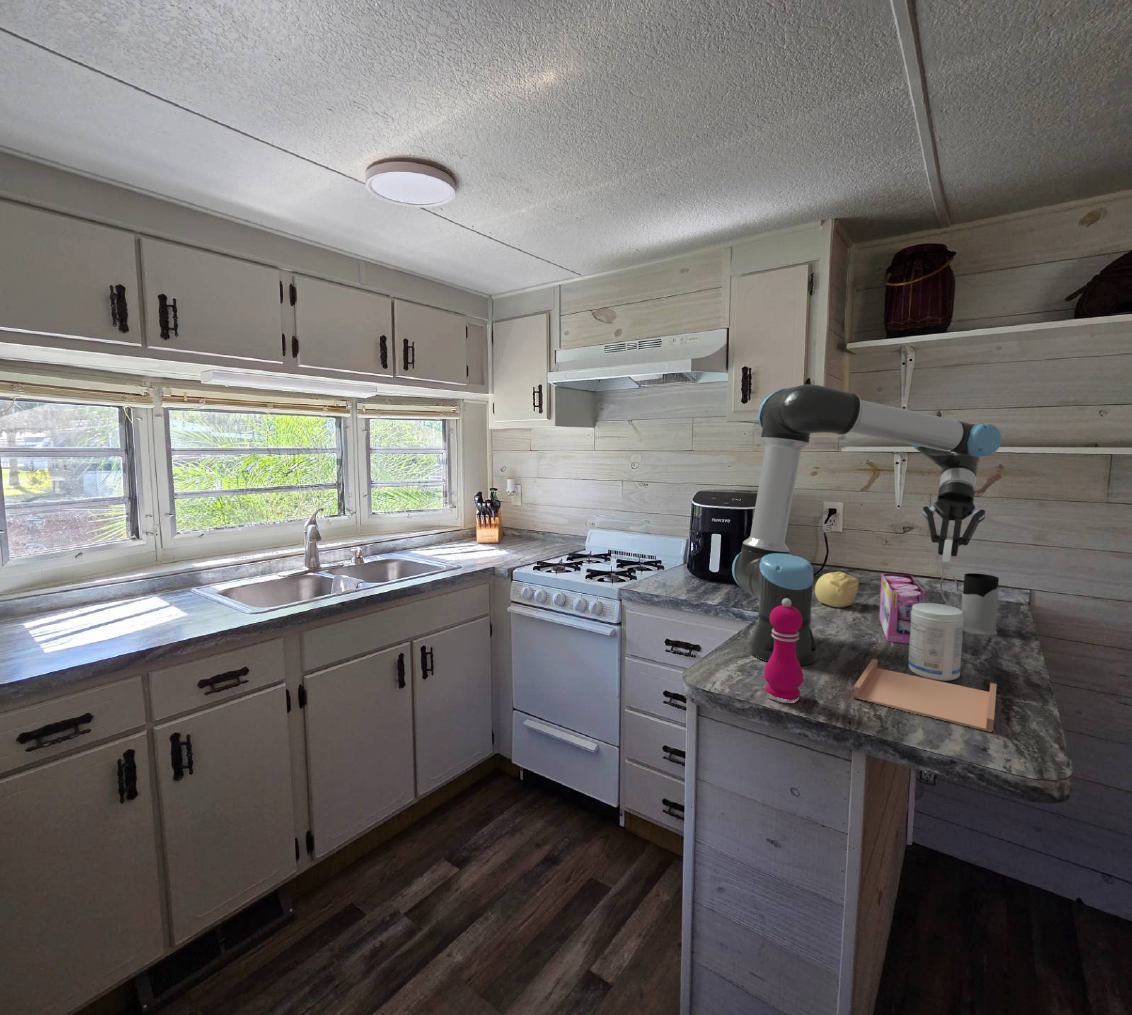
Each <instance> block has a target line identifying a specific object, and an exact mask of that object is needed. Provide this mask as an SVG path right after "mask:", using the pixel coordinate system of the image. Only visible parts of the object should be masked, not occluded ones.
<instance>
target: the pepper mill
mask: <svg viewBox="0 0 1132 1015" xmlns="http://www.w3.org/2000/svg"><path fill="white" fill-rule="evenodd" d="M791 604H792V603H791V600H790V599H788V598H785V599H783V600H782V606H778V607H776V608H774V609H773V610H772V611H771V614H770V623H771V625H772V626H773V627H774V628H773V629H772V637H773V638H774V650H773V653H772V655H771V657H770V659H769V661H768V662H767V661H766V665H765V668H764V671H763V672H764V673H763V675H764V679H765V681H766V682H767V683H768V684H766V686H765V687H766V688H765V692H766V691H767V692H768V693H770V694H771V695H773V696H775V697H779V698H783V699H787V700H788V699H789V700H793V699H794V700H795V699H797V698H798V697H800V696H801V692H800V691H801V690H800V689H799V687H801V685H802V684H803V683H804V673H803V669H802V665H800V664H799V661H798V659H797V656H796V641H797V640H798V639H799V637H798V635H799V632H798V631H797V630H798V629H799V628H800V627H801V625H802V622H803V621H802V615H801V613H800V612H799V611H798V610H797V609H796V608H794V607H791ZM800 698H801V697H800Z"/></svg>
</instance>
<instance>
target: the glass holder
mask: <svg viewBox="0 0 1132 1015" xmlns="http://www.w3.org/2000/svg"><path fill="white" fill-rule="evenodd" d="M947 577H949V578H951V579H953V580H954V582H955V589H956V592H957V593H959V594H961V607H960V610H962V611H963V632H965V633H969V634H972V635H973V634H974V635H978V636H996V635H998V632H997V628H996V627H997V615H998V602H999V590H1000V588H999V582H1000V577H999V576H995V575H991V574H985V573H974V572H972V573H971V572H969V573H964V576H963V589H962V590H963V591H960V590H959V582H958V580H957V578H956V577H955V576H954V575H948V574H947V575H944V576H942V577H941V579H940V581H939V590H940V594H941V596H942V599H943V600H944V602H945V603H946V604H947V605H948V606H952V604H951V603H950V602H949V600H947V598H946V596H945V594H944V590H943V580H944V578H947Z"/></svg>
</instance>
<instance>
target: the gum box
mask: <svg viewBox="0 0 1132 1015" xmlns="http://www.w3.org/2000/svg"><path fill="white" fill-rule="evenodd" d="M880 580H881V581H880V595H879V596H880V597H879V598H880V599H879V616H878V617H879V621H880V624H881V627H882V629H883V631H882V632H884V635H885V636H884V637H885V638H886V641H887V642H892V643H899V644H906V645H907V644H908V645H910V627H911V611H912V606H913V605H914V604H918V603H925V596H926V595H925V590H924V589H923V588H922V587H921V586H920V585H919V584H918V582H917V581H916V579H915V578H914V577H913V575H910V574H909V575H908V574H896V573H886V572H885V573H881V578H880Z"/></svg>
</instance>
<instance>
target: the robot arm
mask: <svg viewBox="0 0 1132 1015" xmlns="http://www.w3.org/2000/svg"><path fill="white" fill-rule="evenodd" d="M757 418H758V423H759V425H760V427H761V435H760V440H761V441H762V443H763V445H764V446H765V448H764V453H763V460H762V465H761V466H762V467H761V471H760V476H759V477H760V478H759V481H758V482H759V483H758V490H757V494H756V501H755V508H754V510H753V511H754V512H753V518H752V523H751V524H752V525H751V530H750V534H749V535H750V536H748V538H746V539H745V540H744V541H743V542H742V547H741V551H740V552H739V553H738V554H737V555H736V556H735V558H734V560H733V562H732V567H731V572H732V576H733V577H732V578H733V579H734V582H735V583H736V584H737V585H738V586H739V587H740V588H741V590H743V591H744V592H745V593H747V594H749V595H750V596H753V597H754V598H756V599H757V600H759V601H758V619H757V623H756V625H755V628H754V630H753V633H752V635H751V637H750V638H751V639H750V641H749V652H751V653H752V654H754V655H755V656H757V657H759V658H762V659H764V660H766V661H765V662H767V661H769V659H770V657H771V655H772V653H773V650H774V638H773V637H772V629H773V628H774V627H773V626H772V625H771V623H770V614H771V611H772V610H773V609H774V608H776V607H778V606H782V600H783V599H785V598H788V599H790V600H791V603H792V604H791V607H794V608H796V609H797V610H798V611H799V612H800V613H801V615H802V621H803V622H802V625H801V627H800V628H799V629H798V630H797V631H798V632H799V635H798V637H799V639H798V640H797V641H796V656H797V659H798V661H799V664H800V666H807V665H812V664H814V663H815V662H816V661H817V660H818V646H817V643H816V639H815V636H814V634H813V628H812V627H811V625H812V623H811V621H812V607H813V606H812V604H813V603H812V602H813V588H814V587H813V586H814V585H813V583H814V579H815V578H814V569H813V566H812V564H811V562H810V561H809V560H807V559H806V558H803V557H801V556H799V555H793V554H790V549H789V547H788V546H787V544H786V542H785V541H786V538H787V537H786V536H787V532H788V526H789V519H790V514H791V507H792V503H793V498H794V491H795V485H796V481H797V474H798V469H799V464H800V457H801V453H802V450H803V449H804V448H806V447H807V446H808V445H809V444H810V439H811V434H814V433H816V434H819V433H820V434H821V433H825V434H827V433H829V434H835V435H836V434H837V435H840V436H841V435H842V436H844V435H847V434H850V433H853V434H858V435H864V436H869V437H872V438H873V437H874V438H877V439H878V438H879V439H882V440H883V439H884V440H888V441H893V442H896V443H897V442H898V443H903V444H907V445H910V446H912V447H913V448H914V450H916V451H919V452H920V453H921V454H922V455H924V456H925V457H926V458H928V459H929V460H930V461H931V462H933V463H934V464H936V465H937V466H938V467H940V469H941V474H940V480H939V481H940V482H939V487H938V491H937V492H938V493H937V498H936V501H935V502H934V503H933V506H930V507H928V506H927V505H926V506H923V507H922V510H923V511H922V512H923V513H922V514H923V516H924V518H925V519H926V521H927V525H928V530H929V534H930V539H931V542H932V543H935V544H936V543H937V544H938V548H937V554H938V555H940V556H941V557H942V558H941V569H947V570H950V568H951V560H952V557H957V556H958V554H959V553H958V552H959V546H968V545H969V543H970V541H971V539H972V538H973V536H974V534H975V532H976V530H977V528H978V526H979V524H980V523H981V522H983V521H984V520H985V518H986V510H985V509H977V508H976V505H975V504H974V501H975V500H974V499H975V490H976V485H977V484H976V483H977V473H978V466H979V462H980V457H988V456H991V455H993V454H995V453H996V452H997V451H998V450H999V449H1000V447H1001V444H1002V440H1003V436H1002V432H1001V431H1000V429H999V428H998V427H997V426H995V425H994V424H991V423H982V422H981V423H980V422H979V423H969V422H965V421H961V420H954V419H950V418H946V417H942V416H941V417H940V416H937V415H936V416H935V415H934V414H929V413H928V414H927V413H923V412H918V411H914V410H910V409H904V408H900V407H895V406H892V405H887V404H881V403H876V402H872V401H867V400H863V399H861V397H860V396H859V395H858V394H856V393H854V392H853V393H851V392H849V391H848V392H847V391H844V390H839V389H836V388H831V387H827V386H823V385H817V384H800V385H798V386H795V387H788V388H781V389H779V390H776V391H774V392H772V393H771V394H769V395H768V396H767V397H765V399H764V400H762V402H761V404H760V406H759V409H758V413H757ZM935 513H936V514H938V515H939V517H940V518H941V519H942V520H941V527H940V533H939V534H937V532H938V531H937V528H936V522H935V518H934V515H935ZM971 515H972V516H971ZM970 516H971V519H970V521H969V523H968V525H967V527H966V529H965V531H964V533H963V535H962V536H961V531H962V525H963V521H964V520H966V518H968V517H970ZM950 521H954V527H953V534H952V539H948V538H947V537H948V532H949V525H950ZM751 653H750V654H751ZM752 654H751V655H752ZM754 655H753V656H754ZM755 656H754V657H755ZM757 657H756V658H757ZM759 658H758V659H759ZM764 660H763V661H764Z"/></svg>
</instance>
